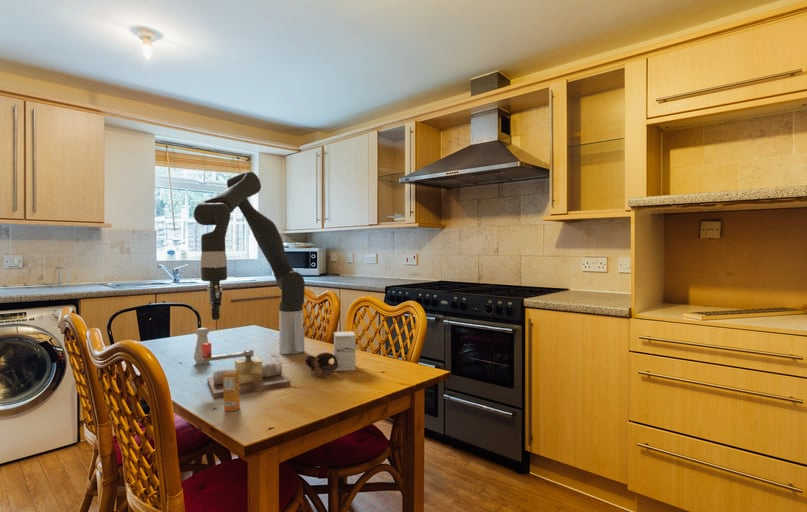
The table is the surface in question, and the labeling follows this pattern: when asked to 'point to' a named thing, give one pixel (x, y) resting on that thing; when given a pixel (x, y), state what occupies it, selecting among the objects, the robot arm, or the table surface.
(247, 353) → the valve lever
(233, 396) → the supplement box
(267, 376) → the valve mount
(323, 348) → the table surface
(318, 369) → the pottery mug
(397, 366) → the table surface
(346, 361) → the supplement box
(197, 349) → the salt shaker
